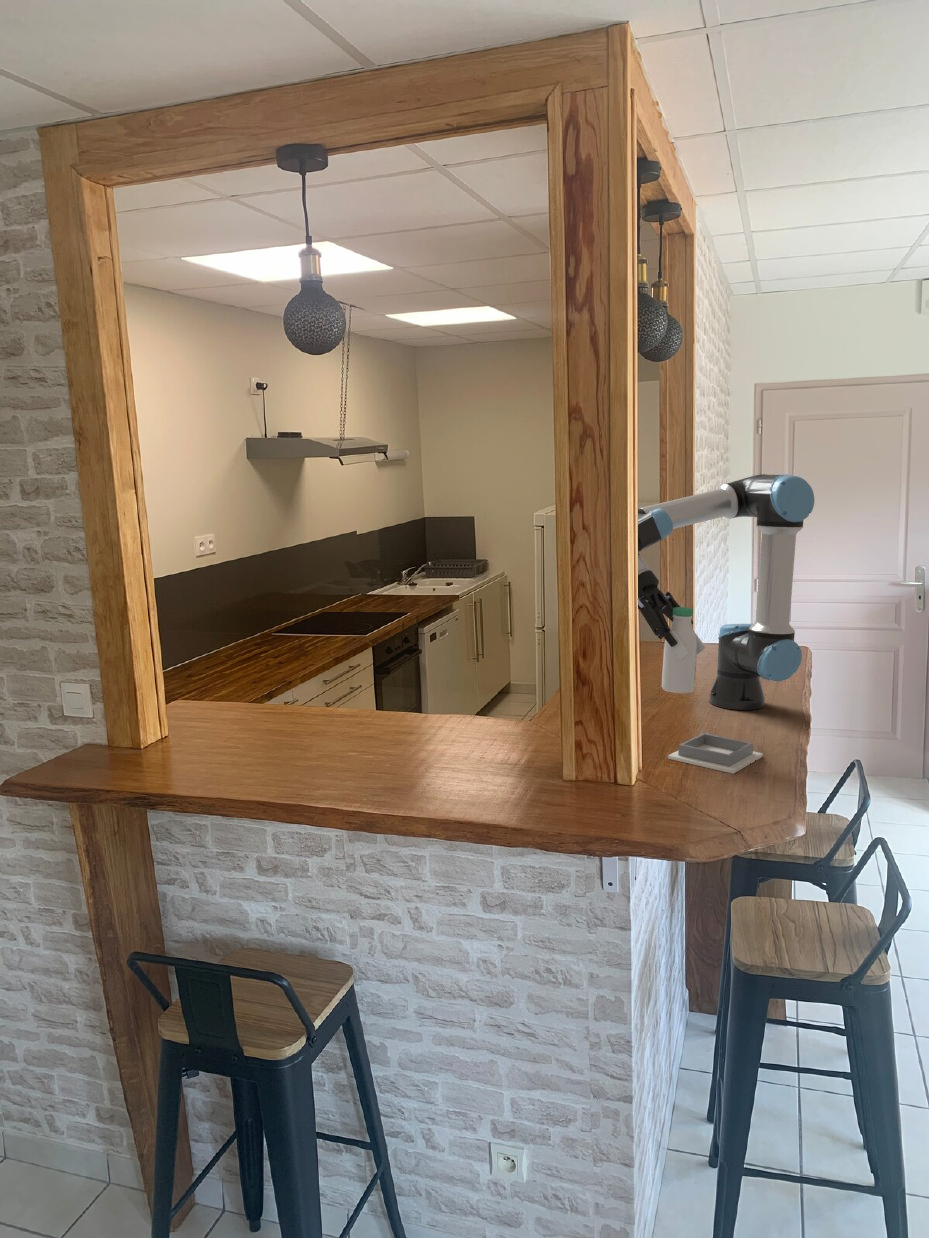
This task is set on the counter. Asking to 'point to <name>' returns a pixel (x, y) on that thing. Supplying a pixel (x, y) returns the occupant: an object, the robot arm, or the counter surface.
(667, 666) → the milk bottle
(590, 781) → the counter surface
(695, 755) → the tray
